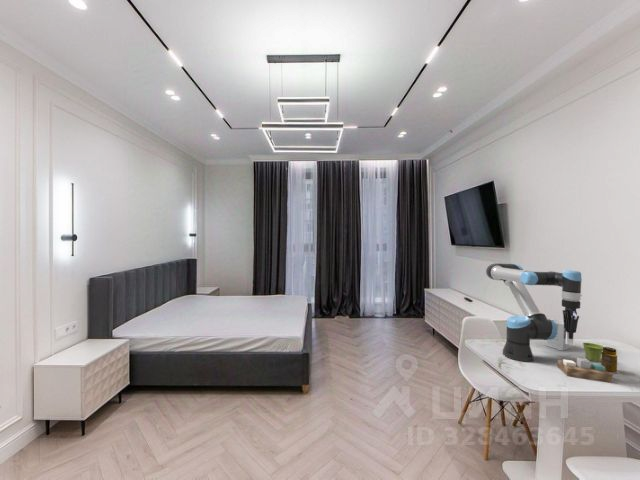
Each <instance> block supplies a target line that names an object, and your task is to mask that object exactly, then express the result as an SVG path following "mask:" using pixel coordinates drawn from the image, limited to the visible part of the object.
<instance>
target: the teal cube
mask: <svg viewBox="0 0 640 480" xmlns="http://www.w3.org/2000/svg"><path fill="white" fill-rule="evenodd" d="M590 364H591V367H592V368H593V369H594V370H599V371H605V367H604V366H602V365H601V364H600V363H593V362H590Z"/></svg>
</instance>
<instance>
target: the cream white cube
mask: <svg viewBox="0 0 640 480" xmlns="http://www.w3.org/2000/svg"><path fill="white" fill-rule="evenodd" d="M562 360H563V364H564V365H565V366H571V367H576V363H575V362H576V361H573V360H570V359H564V358H563V359H562Z"/></svg>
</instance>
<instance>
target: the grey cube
mask: <svg viewBox="0 0 640 480" xmlns="http://www.w3.org/2000/svg"><path fill="white" fill-rule="evenodd" d="M576 362H577V366H578V367H580V368H585V369H590V364H591V360H587V359H586V358H580V357H577V358H576Z"/></svg>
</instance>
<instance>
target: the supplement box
mask: <svg viewBox="0 0 640 480" xmlns="http://www.w3.org/2000/svg"><path fill="white" fill-rule="evenodd" d="M551 320H552V321H554V322H555V324H556V326H557V335H556V337H555V338H554V339H551V340H546V347H549V348H552V349H556V350H560V351H562V352H563V351H565V350H566V351H567V350H569V349H570V345H568V344H566V330H565V329H564V320H557V319H551Z"/></svg>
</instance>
